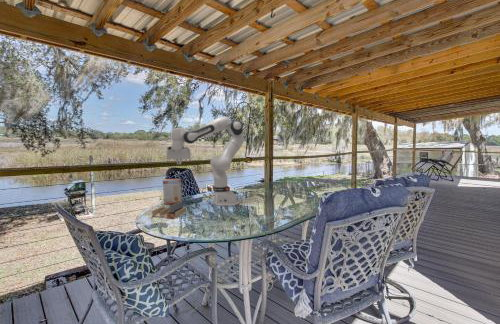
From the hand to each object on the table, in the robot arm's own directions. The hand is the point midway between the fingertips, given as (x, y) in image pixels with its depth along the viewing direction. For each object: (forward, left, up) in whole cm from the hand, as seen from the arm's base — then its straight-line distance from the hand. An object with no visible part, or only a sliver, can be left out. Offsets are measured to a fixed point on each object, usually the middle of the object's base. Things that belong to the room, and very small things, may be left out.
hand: (179, 164), depth 226 cm
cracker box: (+10, -4, -34) cm, 36 cm away
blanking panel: (-12, +26, -33) cm, 43 cm away
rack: (-6, +26, -34) cm, 43 cm away
